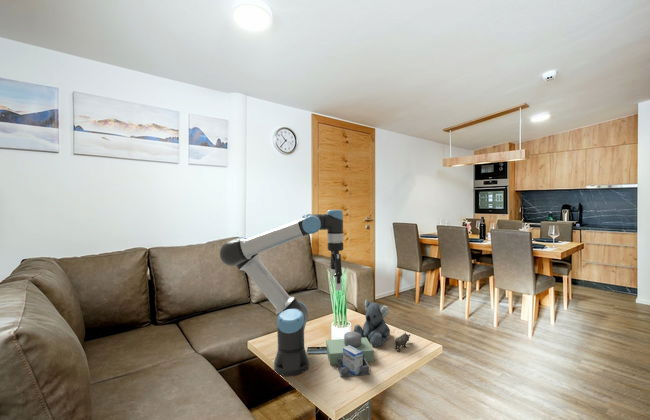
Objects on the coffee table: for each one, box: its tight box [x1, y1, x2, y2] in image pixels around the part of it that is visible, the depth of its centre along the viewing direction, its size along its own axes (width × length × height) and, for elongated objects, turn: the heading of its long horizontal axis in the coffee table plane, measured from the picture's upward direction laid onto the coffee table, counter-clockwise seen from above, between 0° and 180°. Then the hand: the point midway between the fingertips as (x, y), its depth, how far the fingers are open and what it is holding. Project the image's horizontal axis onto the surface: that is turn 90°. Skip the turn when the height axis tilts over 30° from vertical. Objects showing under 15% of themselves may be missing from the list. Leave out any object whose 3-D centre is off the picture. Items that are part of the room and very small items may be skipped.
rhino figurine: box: [394, 331, 411, 353], centre depth 147 cm, size 4×14×6 cm, turn 137°
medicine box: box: [343, 345, 363, 375], centre depth 126 cm, size 8×4×9 cm, turn 40°
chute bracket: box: [336, 356, 370, 378], centre depth 126 cm, size 12×9×4 cm
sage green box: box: [325, 331, 375, 366], centre depth 138 cm, size 20×13×9 cm, turn 97°
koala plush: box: [353, 299, 391, 348], centre depth 156 cm, size 17×18×20 cm
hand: (336, 286), depth 142 cm, fingers open, 13 cm apart
